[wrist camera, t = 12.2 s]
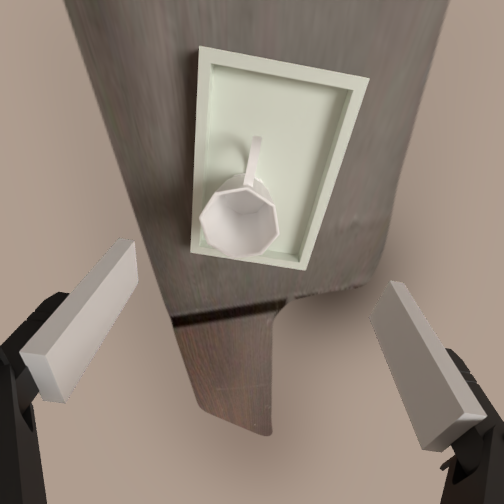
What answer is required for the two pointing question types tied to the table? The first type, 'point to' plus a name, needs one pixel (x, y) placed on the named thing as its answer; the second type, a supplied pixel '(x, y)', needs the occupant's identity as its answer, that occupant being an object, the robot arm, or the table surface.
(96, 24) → the table surface
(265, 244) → the cup
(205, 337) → the table surface
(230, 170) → the tray
